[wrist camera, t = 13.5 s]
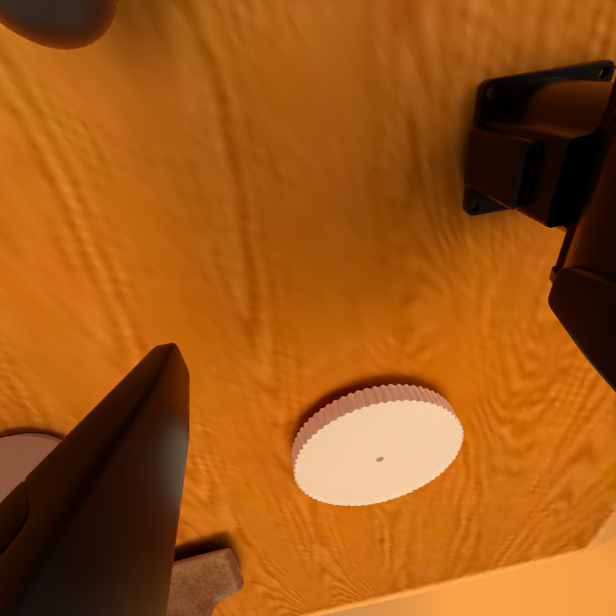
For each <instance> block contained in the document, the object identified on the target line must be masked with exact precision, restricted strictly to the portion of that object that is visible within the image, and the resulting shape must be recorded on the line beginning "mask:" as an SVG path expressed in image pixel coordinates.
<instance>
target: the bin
mask: <svg viewBox="0 0 616 616" xmlns="http://www.w3.org/2000/svg"><path fill="white" fill-rule="evenodd" d="M117 3H118V0H0V22H1V23H2V24H3V25H5V26H6V27H7V28H9V29H10V30H12V31H13V32H15V33H17V34H18V35H20V36H22V37H24V38H26V39H28V40H30V41H32V42H34V43H37V44H40V45H42V46H46V47H51V48H55V49H65V50H68V49H77V48H81V47H85V46H88V45H90V44H92V43H94V42H95V41H97V40H98V39H99V38H100V37H102V36H103V35H104V34H105V32H106V31H107V29H108V28H109V27H110V25H111V23H112V21H113V19H114V16H115V13H116V9H117Z"/></svg>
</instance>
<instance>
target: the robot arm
mask: <svg viewBox="0 0 616 616" xmlns="http://www.w3.org/2000/svg"><path fill="white" fill-rule="evenodd" d="M614 68H615V69H616V66H615V65H614V62H613V61H611V60H599V61H593V62H587V63H581V64H574V65H568V66H562V67H556V68H550V69H544V70H538V71H531V72H525V73H519V74H513V75H507V76H501V77H495V78H489V79H487V80H485V81H484V82H483V83H482V84H481V85H480V87H479V90H478V94H477V102H476V109H475V117H474V125H473V130H472V131H471V133H470V138H469V146H468V154H467V162H466V170H465V178H464V182H465V184H466V187H465V195H464V203H463V210H464V211H465V212H466V213H468V214H469V215H479V214H485V213H490V212H496V211H501V210H507V209H512V210H514V209H515V210H517V211H519V212H521V213H522V214H524V215H526V216H528V217H530V218H532V219H534V220H535V221H537V222H539V223H541V224H543V225H545V226H547V227H550V228H552V227H556V228H558V229H560V230H562V231H564V232H566V235H565V238H564V241H563V244H562V248H561V251H560V254H559V257H558V260H557V263H556V266H553V267H552V270H551V274H550V277H549V278H550V280H551V282H552V283H553V285H552V288H551V291H550V294H549V298H548V303H549V306H550V308H551V310H552V311H553V312H554V314H555V315H556V317H557V318H558V319H559V321H560V322H561V324H562V325H563V327H564V328H565V329H566V331H567V332H568V334H569V335H570V336H571V338H572V339H573V341H574V342H575V343H576V345H577V346H578V348H579V349H580V350H581V352H582V353H583V355H584V356H585V357H586V358H587V360H588V361H589V362H590V363H591V364H592V366H593V367H594V368H595V369H596V370H597V371H598V373H599V374H600V375H601V376H602V377H603V378H604V380H605V381H606V382H607V383H608V384H609V385H610V386H611V388H612V389H613V390H614V391H615V392H616V78H615V81H614V82H611V80H612V76H613V73H614ZM601 69H603V70H602V74H601V75H600V76H599V73H600V71H601ZM491 86H493V92H492V94H491V95H490V96H488V95H487V92H488V89H489V88H490V87H491ZM475 202H476V205H475V207H474V208H472V209H471V206H472V205H473V203H475ZM188 442H189V372H188V368H187V366H186V364H185V362H184V359H183V357H182V355H181V353H180V350H179V348H178V346H177V345H176V344H174V343H169V344H163V345H158V346H156V347H154V348H153V349H152V350H151V351H150V352H149V353H148V354H147V355H146V356H145V357H144V358H143V359H142V360H141V361H140V362H139V363H138V364H137V365H136V366H135V367H134V368H133V369H132V370H131V371H130V372H129V373H128V374H127V375H126V376H125V378H124V379H123V380H122V381H121V382H120V383H119V384H118V385H117V386H116V387H115V388H114V389H113V390H112V391H111V392H110V393H109V394H108V395H107V396H106V397H105V398H104V399H103V400H102V401H101V402H100V403H99V404H98V405H97V406H96V407H95V408H94V409H93V410H92V411H91V412H90V413H89V414H88V415H87V416H86V417H85V418H84V419H83V420H82V421H81V422H80V423H79V424H78V425H77V426H76V427H75V428H74V429H73V430H72V431H71V432H70V433H69V434H68V435H67V436H66V437H65V438H64V439H63V440H62V441H61V442H60V443H59V444H58V445H57V446H56V447H55V448H54V449H53V450H52V451H51V452H50V453H49V454H48V455H47V456H46V457H45V458H44V459H43V460H42V461H41V462H40V463H39V464H38V465H37V466H36V467H35V468H34V469H33V470H32V471H31V472H30V473H29V474H28V475H27V476H26V478H25V481H21V482H20V483H19V484H18V485H17V486H16V487H15V488H14V489H13V490H12V491H11V492H10V493H9V494H8V495H7V496H6V497H5V498H4V499H3V500H2V501H1V502H0V616H166V614H167V606H168V598H169V591H170V583H171V575H172V568H173V560H174V552H175V544H176V537H177V529H178V521H179V514H180V506H181V498H182V490H183V483H184V475H185V467H186V460H187V452H188Z"/></svg>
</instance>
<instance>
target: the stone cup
mask: <svg viewBox="0 0 616 616" xmlns="http://www.w3.org/2000/svg"><path fill="white" fill-rule="evenodd" d="M243 584H244V581H243V578H242V576H241V574H240V566H239V565H238V561H237V559H236V555H235V554H234V552H233V550H232V549H230V548H225V549H220V550H216V551H212V552H208V553H204V554H201V555H196V556H192V557H189V558H186V559H182V560H178V561H175V562H173V568H172V575H171V583H170V591H169V598H168V606H167V614H166V616H211V615H212V612H213V610H214V608H215V606H216V605H217V604H218V603H219V601H221V600H222V599H224V598H226V597H228V596H230V595H232V594H234V593H236V592H238V591H239V590H241V589H242V587H243Z"/></svg>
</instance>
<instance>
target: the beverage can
mask: <svg viewBox="0 0 616 616" xmlns="http://www.w3.org/2000/svg"><path fill="white" fill-rule="evenodd" d="M61 441H62V440H61V439H58V438H56V437H53V436H49V435H45V434H37V433H24V434H17V435H13V436H7V437H3V438H0V502H1V501H2V500H3V499H4V498H5V497H6V496H7V495H8V494H9V493H10V492H11V491H12V490H13V489H14V488H15V487H16V486H17V485H18V484H19V483H20V482H21V481H25V478H26V476H27V475H28V474H29V473H30V472H31V471H32V470H33V469H34V468H35V467H36V466H37V465H38V464H39V463H40V462H41V461H42V460H43V459H44V458H45V457H46V456H47V455H48V454H49V453H50V452H51V451H52V450H53V449H54V448H55V447H56V446H57V445H58V444H59V443H60V442H61Z"/></svg>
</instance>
